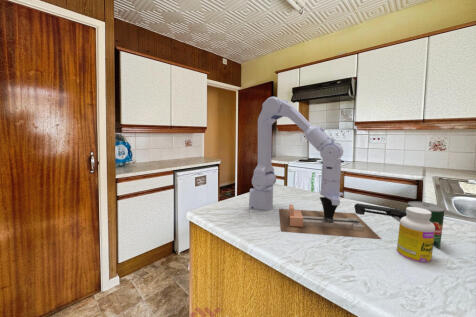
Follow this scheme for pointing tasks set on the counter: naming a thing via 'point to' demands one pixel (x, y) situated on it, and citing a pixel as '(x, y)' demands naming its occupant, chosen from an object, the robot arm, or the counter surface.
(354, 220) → the tong arm
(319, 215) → the walnut board
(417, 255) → the supplement bottle
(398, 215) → the door handle
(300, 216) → the sleeve
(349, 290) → the counter surface
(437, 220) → the canned tomato
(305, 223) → the fixed tong arm
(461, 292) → the counter surface
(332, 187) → the robot arm
